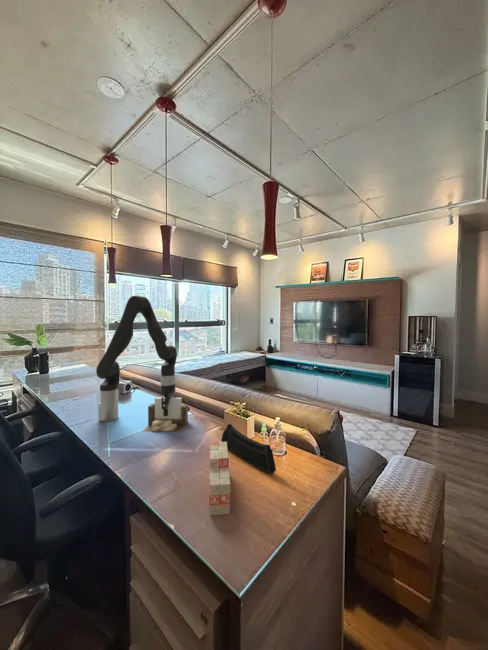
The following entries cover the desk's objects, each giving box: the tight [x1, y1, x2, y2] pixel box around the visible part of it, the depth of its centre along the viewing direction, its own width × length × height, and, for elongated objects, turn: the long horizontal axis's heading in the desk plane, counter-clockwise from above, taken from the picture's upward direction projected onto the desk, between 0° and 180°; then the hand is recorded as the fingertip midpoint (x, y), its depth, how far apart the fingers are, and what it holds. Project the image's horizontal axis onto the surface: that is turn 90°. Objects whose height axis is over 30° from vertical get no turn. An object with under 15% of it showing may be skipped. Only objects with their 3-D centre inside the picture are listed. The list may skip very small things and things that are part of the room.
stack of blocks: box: [208, 441, 231, 516], centre depth 90 cm, size 21×6×12 cm, turn 6°
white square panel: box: [154, 396, 183, 425], centre depth 144 cm, size 14×2×14 cm, turn 88°
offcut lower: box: [150, 424, 177, 432], centre depth 138 cm, size 12×4×2 cm, turn 88°
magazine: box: [220, 423, 277, 474], centre depth 110 cm, size 17×3×30 cm
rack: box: [142, 403, 189, 433], centre depth 141 cm, size 20×14×11 cm
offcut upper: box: [152, 420, 172, 427], centre depth 138 cm, size 9×4×2 cm, turn 88°
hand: (168, 413), depth 144 cm, fingers open, 8 cm apart
